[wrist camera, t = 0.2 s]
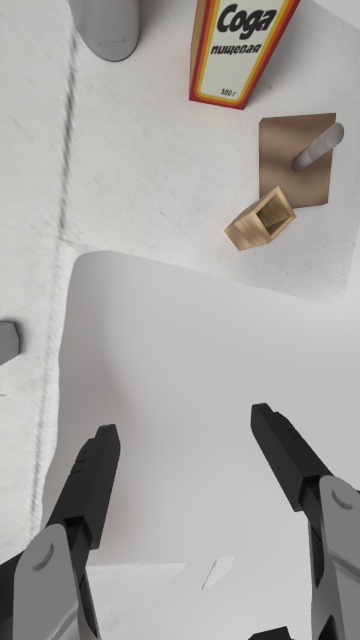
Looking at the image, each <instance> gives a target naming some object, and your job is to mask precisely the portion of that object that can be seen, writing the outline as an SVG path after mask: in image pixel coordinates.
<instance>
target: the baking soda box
mask: <svg viewBox="0 0 360 640" xmlns="http://www.w3.org/2000/svg"><path fill="white" fill-rule="evenodd" d="M299 2H300V0H198V2H197V8H196V15H195V22H194V29H193V35H192V42H191V60H190V85H189V100H190V101H196V102H201V103H207V104H212V105H218V106H223V107H229V108H234V109H239V110H243V109H244V107H245V105H246V103H247V101H248V100H249V98H250V96H251V94H252V92H253V90H254V88H255V86H256V84H257V82H258V80H259V79H260V77H261V75H262V73H263V71H264V69H265V67H266V65H267V63H268V61H269V59H270V58H271V56H272V54H273V52H274V50H275V48H276V46H277V44H278V42H279V40H280V38H281V37H282V35H283V33H284V31H285V29H286V27H287V25H288V23H289V21H290V19H291V17H292V16H293V14H294V12H295V10H296V8H297V6H298V4H299Z"/></svg>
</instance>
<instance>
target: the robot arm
mask: <svg viewBox="0 0 360 640" xmlns="http://www.w3.org/2000/svg"><path fill="white" fill-rule="evenodd" d="M68 2H69V5H70V9H71V12H72V15H73V18H74V21H75V23H76V26H77V29H78V31H79V33H80V35H81V37H82V39H83V40H84V42H85V43H86V44H87V46H88V47H89V48H90V49H91V50H92V51H93V52H94V53H95V54H97V55H98V56H100V57H101V58H104V59H106V60H111V61H118V60H122V59H124V58H126V57H127V56H128V55H129V54H131V53H132V51H133V50H134V48H135V46H136V44H137V41H138V38H139V32H140V14H139V0H68ZM251 429H252V432H253V435H254V437H255V439H256V440H257V443H258V444H259V446H260V448H261V450H262V452H263V454H264V456H265V458H266V459H267V461H268V463H269V465H270V467H271V469H272V470H273V472H274V474H275V476H276V478H277V480H278V482H279V484H280V486H281V488H282V489H283V491H284V493H285V495H286V497H287V499H288V501H289V503H290V504H291V506H292V508H293V510H294V512H299V511H304V513H305V515H306V516H307V518H308V531H309V546H310V562H311V577H312V603H311V605H312V606H311V626H312V627H311V628H312V640H360V491H358V490H355V489H354V488H353V487H352V486H351V485H349V484H348V483H347V482H345V481H344V480H342V479H340V478H338V477H335V476H334V475H333V474H332V473H331V472H330V471H329V470H328V468H327V467H326V466H325V465H324V464H323V462H322V461H321V460H320V459H319V457H318V456H317V455H316V454H315V452H314V451H313V450H312V449H311V447H310V446H309V445H308V444H307V442H306V441H305V440H304V439H303V438H302V437H301V435H300V434H299V433H298V431H297V430H295V428H294V427H293V425H292V424H291V423H290V421H289V420H288V419H287V418H286V417H284V416H283V415H282V414H280V413H279V412H273V411H272V410H271V408H270V407H269V406H268V404H266V403H261V404H254V405H252V410H251ZM119 456H120V441H119V437H118V433H117V429H116V426H115V424H110V425H103V426H100V427H99V429H98V431H97V433H96V436H95V438H92V439H88V441H87V442H86V443H85V444H84V446H83V447H82V448H81V450H80V452H79V454H78V456H77V458H76V461H75V464H74V465H73V467H72V470H71V472H70V475H69V476H68V479H67V481H66V483H65V485H64V488H63V490H62V492H61V495H60V496H59V499H58V501H57V503H56V505H55V508H54V510H53V512H52V514H51V517H50V519H49V521H48V523H47V524H46V526H45V528H44V529H43V530H42V531H41V532H40V533H38V534H37V535H36V536H35V537H34V539H33V540H32V541H31V542H30V543H29V545H28V546H27V548H26V549H25V550H24V551H22V552H21V553H20V554H18V555H16V556H15V557H13V558H11V559H10V560H8V561H6V562H4V563H3V564H1V565H0V640H101V636H100V632H99V627H98V623H97V618H96V614H95V609H94V605H93V600H92V596H91V591H90V587H89V582H88V578H87V573H86V569H85V566H86V562H87V558H88V554H89V550H93V549H98V548H99V545H100V540H101V536H102V531H103V527H104V522H105V518H106V513H107V509H108V505H109V500H110V496H111V492H112V487H113V483H114V478H115V474H116V470H117V465H118V461H119ZM248 640H294V639H291V638H290V635H289V632H288V629H287V626H285V627H281V628H277V629H273V630H269V631H264V632H260V633H256V634H253V636H251V637H250V638H249V639H248Z"/></svg>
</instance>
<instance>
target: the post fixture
mask: <svg viewBox="0 0 360 640" xmlns="http://www.w3.org/2000/svg"><path fill="white" fill-rule="evenodd" d="M335 120H336V113H327V114H313V115H299V116H285V117H272V118H262V120H261V121H260V123H259V199H260V198H262V197H263V196H265V195H266V194H267V193H269V192H270V191H271V190H273V189H274V188H276V187H277V186H279V188H280V190H281V191H282V193H283V195H284V196H285V198H286V200H287V202H288V203H289V205H290V207H291V208H292V209H293V208H301V207H309V206H317V205H324V204H326V203H328V193H329V183H330V172H331V162H332V151H333V147H335V146H336V145H337V144H339V143H340V142H341V140H342V139H343V136H344V128H343V126H342V125H341V124H340V123H335Z"/></svg>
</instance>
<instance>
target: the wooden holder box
mask: <svg viewBox="0 0 360 640" xmlns="http://www.w3.org/2000/svg"><path fill="white" fill-rule="evenodd" d="M295 218H296V215H295V213H294V212H293V210H292V208H291V207H290V205H289V203H288V202H287V200H286V198H285V196H284V195H283V193H282V191H281V190H280V188H279V186H277V187H276V188H274V189H273V190H271V191H270V192H269V193H267V194H266V195H265V196H263V197H262V198H260V199H259V200H258V201H256V202H255V203H254V204H252V205H251V206H249V207H248V208H247V209H245V210H244V211H243V212H242V213H241V214H240V215H239V216H238V217H237V218H236V219H235V220H234V221H233V222H232V223H231V224H230V225H229V226H228V227H227V228H226V229H225V230H224V231H225V233H226V234H227V235H228V237H229V238H230V239H231V241H232V242H233V243H234V245H235V246H236V247H237V249H238V250H239V251H241V250H244V249H248V248H251V247H255V246H259V245H262V244H266V243H270V242H271V241H272V240H273V239H274V238H275V237H276V236H277V235H278V234H279V233H280V232H281V231H282V230H283V229H284V228H285V227H286V226H287V225H288V224H289V223H290V222H291V221H292V220H293V219H295Z"/></svg>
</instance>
